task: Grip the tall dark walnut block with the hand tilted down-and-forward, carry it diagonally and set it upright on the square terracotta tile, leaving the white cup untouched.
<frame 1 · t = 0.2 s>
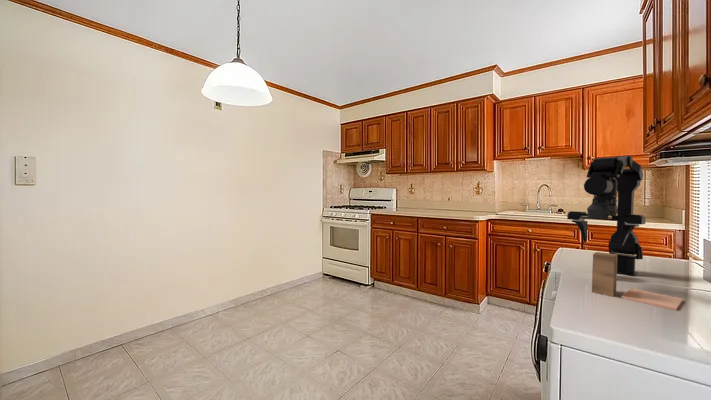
hand: (602, 243, 95), 14 cm above the counter, tool pointing down, fingers open, 9 cm apart
walnut block: (603, 292, 91), on the counter
terracotta tile: (651, 299, 86), on the counter
white cup: (603, 277, 107), on the counter
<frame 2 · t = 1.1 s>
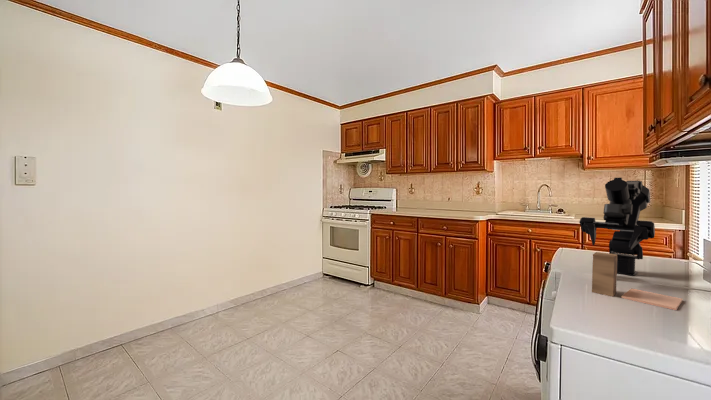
hand: (610, 246, 96), 13 cm above the counter, tool tilted 45°, fingers open, 9 cm apart
nothing on the counter moved.
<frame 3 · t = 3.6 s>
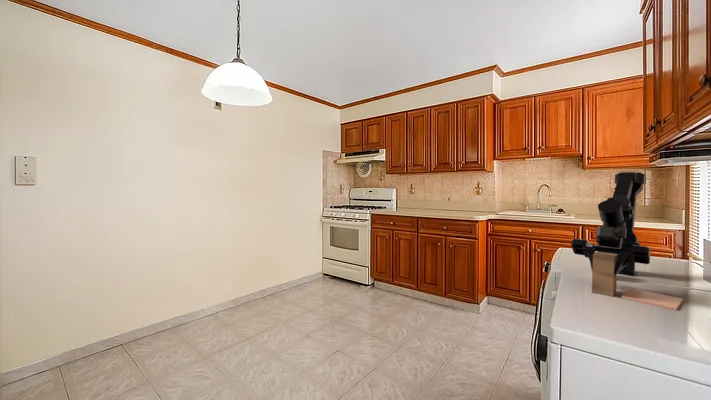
hand: (603, 272, 90), 7 cm above the counter, tool tilted 45°, fingers closed on walnut block, 5 cm apart
walnut block: (603, 292, 91), on the counter, touching gripper
everything else where it was.
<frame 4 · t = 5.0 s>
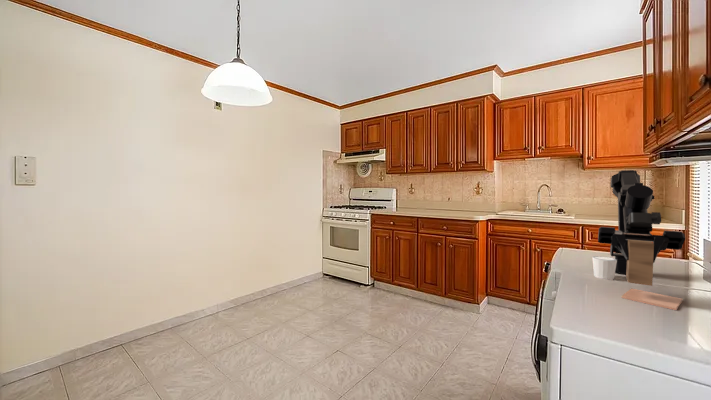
hand: (640, 260, 85), 11 cm above the counter, tool tilted 45°, fingers closed on walnut block, 5 cm apart
walnut block: (638, 281, 87), point 5 cm above the counter, touching gripper
everything else where it was.
when the fingers open (8 cm above the counter, at t = 6.4 s): walnut block stays where it is, resting on terracotta tile.
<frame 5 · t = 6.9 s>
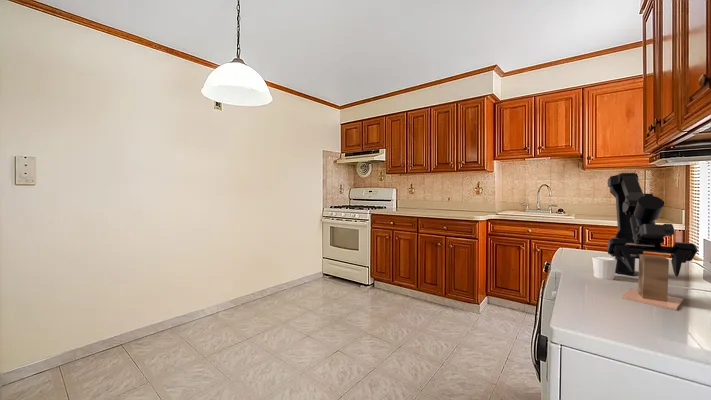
hand: (654, 273, 84), 8 cm above the counter, tool tilted 45°, fingers open, 9 cm apart
walnut block: (651, 297, 86), point 1 cm above the counter, touching terracotta tile
everything else where it was.
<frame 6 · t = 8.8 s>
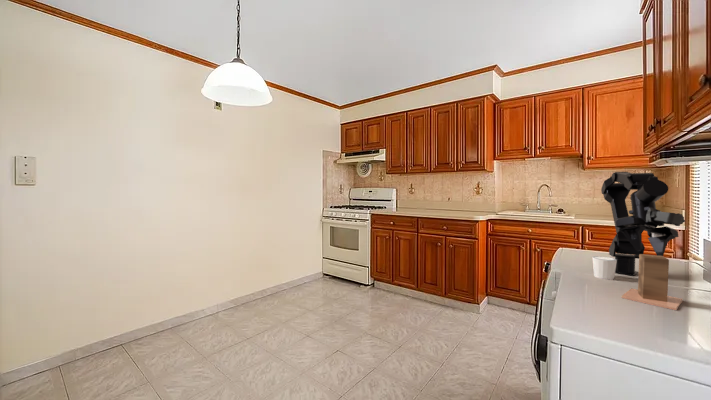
hand: (649, 253, 93), 12 cm above the counter, tool tilted 25°, fingers open, 9 cm apart
nothing on the counter moved.
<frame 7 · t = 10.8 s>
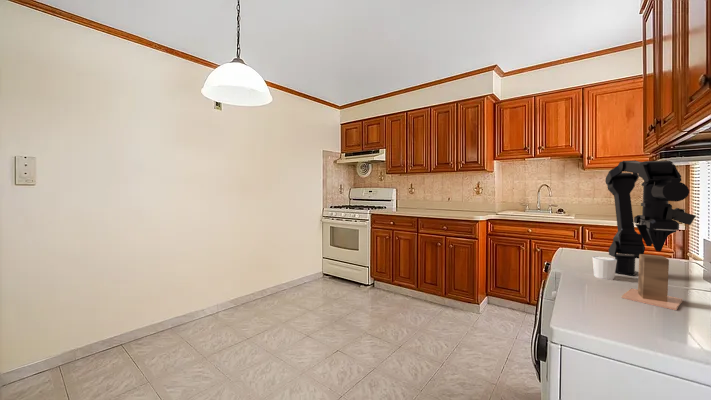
hand: (653, 248, 94), 13 cm above the counter, tool pointing down, fingers open, 9 cm apart
nothing on the counter moved.
at the end: walnut block inside the target area on the terracotta tile (0.0 cm from its centre), point 0.6 cm above the terracotta tile's base; walnut block tilted 0°; the gripper is holding nothing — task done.
